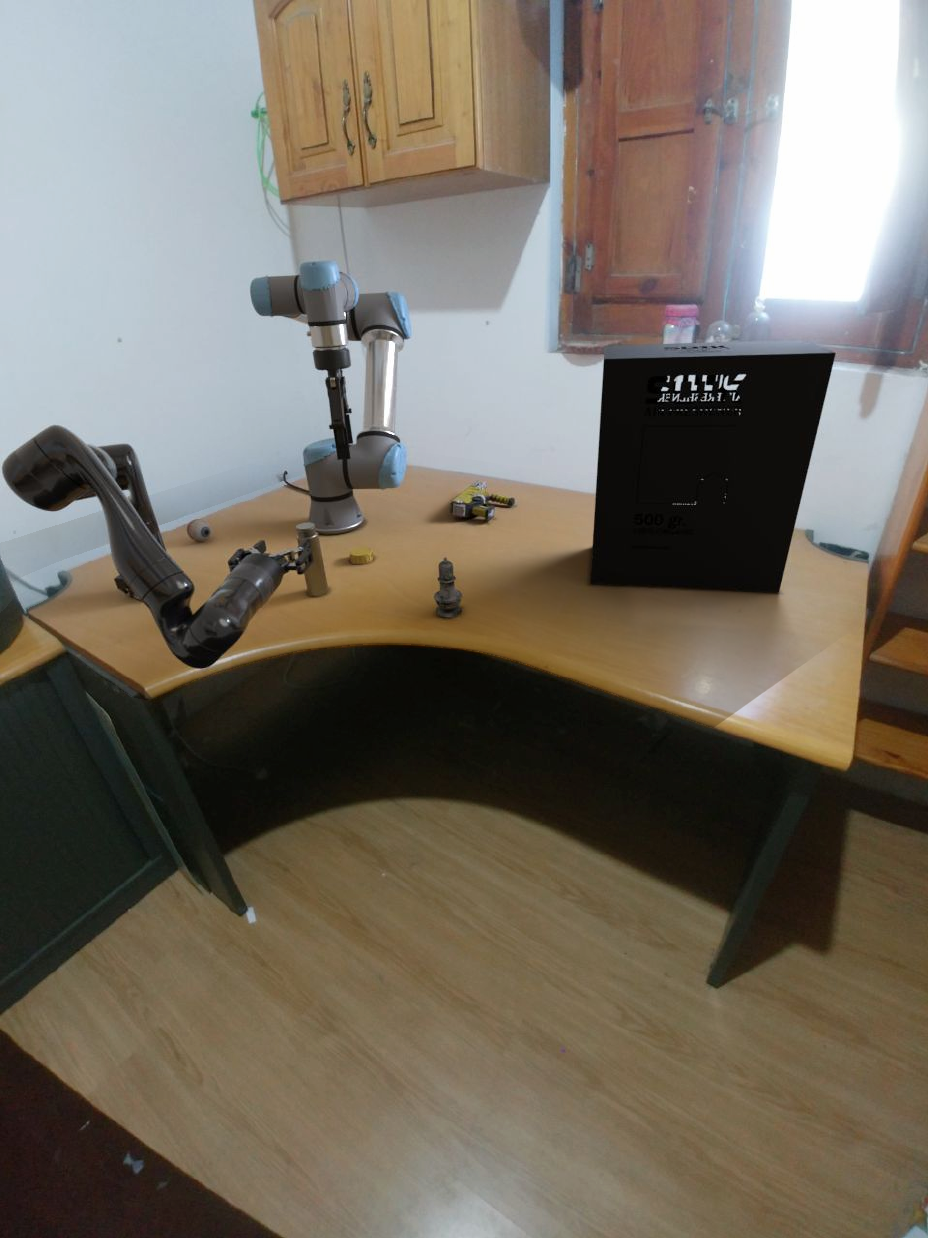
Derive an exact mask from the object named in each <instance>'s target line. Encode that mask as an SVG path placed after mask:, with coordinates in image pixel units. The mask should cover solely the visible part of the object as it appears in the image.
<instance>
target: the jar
mask: <svg viewBox="0 0 928 1238" xmlns="http://www.w3.org/2000/svg"><path fill="white" fill-rule="evenodd" d="M295 528H296V533H297V535H296V541H297V545H298V546H299V545H300V543H301V542H302V541H303V540H307V541H308V543H309V545H310V549H312V554H313V559H314V562H313V563H312V564H311V566H310V567H309V568H308V569H307V570H306V571H305V573H304V574H303V575H304V580H305V585H306V591H307V594H308V595H309V596H310V597H314V598H315V597H323V596H324V595H327V594H328V593H329V587H328V581H327V574H326V570H325V563H324V558H323V552H322V549H321V543H320V537H319V534H318V533H317V532H316V530H315V524H314V523H308V522H302V523H299V524H297V525H296V526H295ZM298 546H297V547H298Z"/></svg>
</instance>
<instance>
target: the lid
mask: <svg viewBox="0 0 928 1238" xmlns="http://www.w3.org/2000/svg"><path fill="white" fill-rule="evenodd" d="M373 560H374V555H373V550H372V548H371V547H368V546H357V547H354V548H351V549H350V550H349V561H350V563H352V564H355V565H365V564H369V563H371V562H372V561H373Z"/></svg>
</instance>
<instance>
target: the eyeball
mask: <svg viewBox="0 0 928 1238" xmlns="http://www.w3.org/2000/svg"><path fill="white" fill-rule="evenodd" d="M186 533H187V535H188V537H189V538H190V539H191V540H192V541H194V542H205V541H207V540H208V539H209V538H210V537H211V534H212V527H211V524H210V523H209V522H207V520H204V519H201V518H195V519H193V520H191V521H190V522H189V523H187V527H186Z"/></svg>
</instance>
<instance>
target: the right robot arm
mask: <svg viewBox="0 0 928 1238" xmlns="http://www.w3.org/2000/svg"><path fill="white" fill-rule="evenodd" d="M249 294H250V300H251V304H252V307H253V308H254V310H255V312H256V314H258V315H259V316H260V317H270V318H273V317H283V318H287V319H290V320H293V321H296V322H298V323H301V324H304V325H307V326H308V331H306V336H307V337H311V338H310V341H311V342H310V343H311V347H312V348H314V350H313V352H312V358H313V364H314V369H316V370H317V371H326V372H327V376H326V377H325V379H324V383H325V387H326V391H327V392H326V393H327V397H328V403H329V413H330V424H329V425H328V428H329V430H332V431H333V432H332V433H333V437H329V438H325V439H321V440H318V441H314V442H312V443H309V444H308V445H307V446H305V447H304V448H303V450H302V457H303V459H302V460H303V467H304V471H305V477H306V482H307V486H308V489H305V488H302V487H299V486H296V485H294V484H292V483H290V482H289V481H288V480H287V479H286V475H288V471H287V470H284V471H283V475H282V476H283V477H282V478H283V481H284V483H285V484H286V485H288V486H289V487H290V488H294V489H296V490H299V491H301V492H304V493H308V494H309V498H310V507H309V513H308V522H307V523H314V524H315V530H316V532H317V533H318V535H323V536H324V535H325V536H327V535H329V536H331V535H339V534H340V535H341V534H345V533H350V532H353V531H355V530H357V529H359V528H361V527H362V526H363V525H364V523H365V519H364V514H363V512H362V510H361V508H360V505H359V504H358V501H357V500H356V498H355V495H354V490H386V489H387V490H388V489H396V488H398V487H400V486H401V484H402V483H403V481H404V478H405V475H406V470H407V449H406V446H405V444H404V443H402V442H401V437H400V436H399V435H398V434H397V433H396V418H397V416H396V415H397V414H396V413H397V393H398V392H397V391H398V389H397V388H398V367H399V366H398V364H399V352H401V351H402V350H403V349H404V347H405V340H406V341H407V340H409V339H411V337H412V326H411V319H410V313H409V308H408V304H407V301H406V298H405V296H404V294H402V293H401V292H399V291H388V290H387V291H385V292H373V293H372V292H369V293H368V292H367V293H366V292H365V293H360V290H359V286H358V284H357V282H356V281H355V279H354V278H353V277H352V276H351V275H350V274H348V273H345V272H343V271H339V266H338V263H337V262H336V261H334V260H319V261H317V260H316V261H305V262H302V263H300V265H299V274H292V275H291V274H290V275H272V276H271V275H270V276H269V275H265V276H261V277H255V278H253V279H252V280H251V282H250V285H249ZM350 342H361V344H362V346H363V347H364V348H365V350H366V351H365V353H366V354H365V369H364V370H365V375H364V391H363V392H364V393H363V394H364V395H363V397H364V398H363V415H362V419H363V420H362V430H361V431H360V432H358V433H357V435H356V437H355V438H356V439H355V440H356V441H355V443H354V439H353V433H352V431H353V430H352V424H351V418H350V414H353V411H352V407H351V408H349V407H350V405H349V403H348V397H347V386H346V385H347V384H346V376H344V375H343V373H344V371H343V370H345V369H349V368H350V367H351V366H352V360H351V352H350V349H349V347H347V346H348V345H349V343H350Z"/></svg>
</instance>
